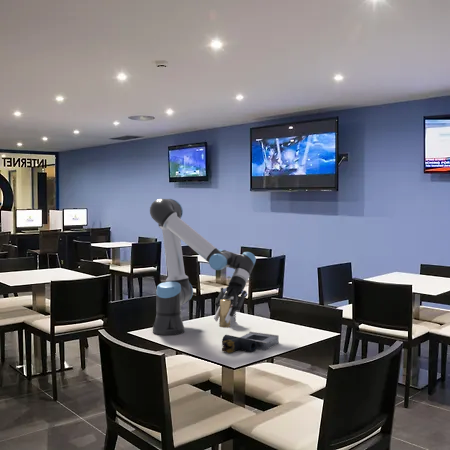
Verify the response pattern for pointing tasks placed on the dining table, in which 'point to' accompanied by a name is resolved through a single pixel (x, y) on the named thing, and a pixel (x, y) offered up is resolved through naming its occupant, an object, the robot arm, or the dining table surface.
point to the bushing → (224, 312)
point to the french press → (233, 318)
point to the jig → (262, 339)
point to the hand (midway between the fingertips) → (221, 320)
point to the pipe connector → (238, 344)
